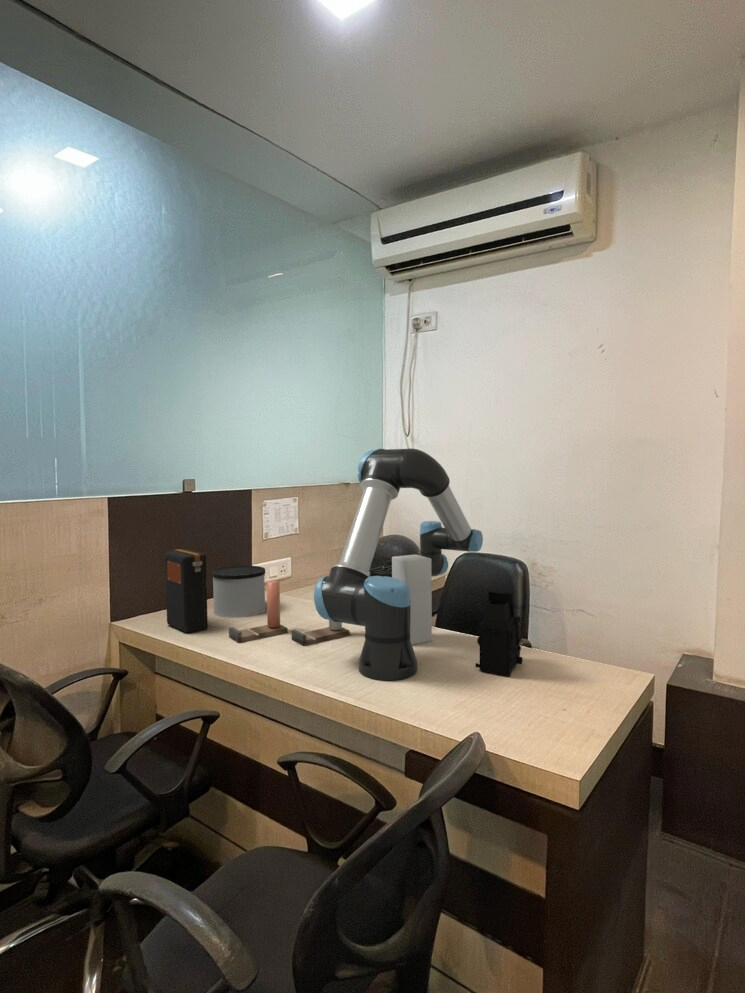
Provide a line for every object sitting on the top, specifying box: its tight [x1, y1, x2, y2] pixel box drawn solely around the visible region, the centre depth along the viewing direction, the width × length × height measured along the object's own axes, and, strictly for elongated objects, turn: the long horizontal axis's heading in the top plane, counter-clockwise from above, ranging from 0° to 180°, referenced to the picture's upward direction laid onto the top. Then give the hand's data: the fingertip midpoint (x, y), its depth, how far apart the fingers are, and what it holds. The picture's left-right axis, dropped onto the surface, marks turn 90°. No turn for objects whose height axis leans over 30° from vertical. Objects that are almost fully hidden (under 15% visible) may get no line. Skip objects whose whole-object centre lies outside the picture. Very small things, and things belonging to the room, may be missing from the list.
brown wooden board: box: [290, 626, 351, 647], centre depth 169 cm, size 16×9×3 cm, turn 126°
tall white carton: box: [391, 553, 433, 646], centre depth 166 cm, size 9×9×25 cm
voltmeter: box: [164, 548, 209, 634], centre depth 180 cm, size 16×9×25 cm, turn 45°
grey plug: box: [328, 620, 343, 630], centre depth 171 cm, size 4×4×14 cm
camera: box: [474, 589, 524, 677], centre depth 143 cm, size 10×14×20 cm
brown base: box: [228, 623, 289, 644], centre depth 172 cm, size 16×9×3 cm, turn 126°
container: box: [211, 565, 266, 619], centre depth 201 cm, size 19×19×15 cm
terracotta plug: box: [266, 580, 281, 627], centre depth 175 cm, size 4×4×14 cm
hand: (352, 579), depth 175 cm, fingers closed
